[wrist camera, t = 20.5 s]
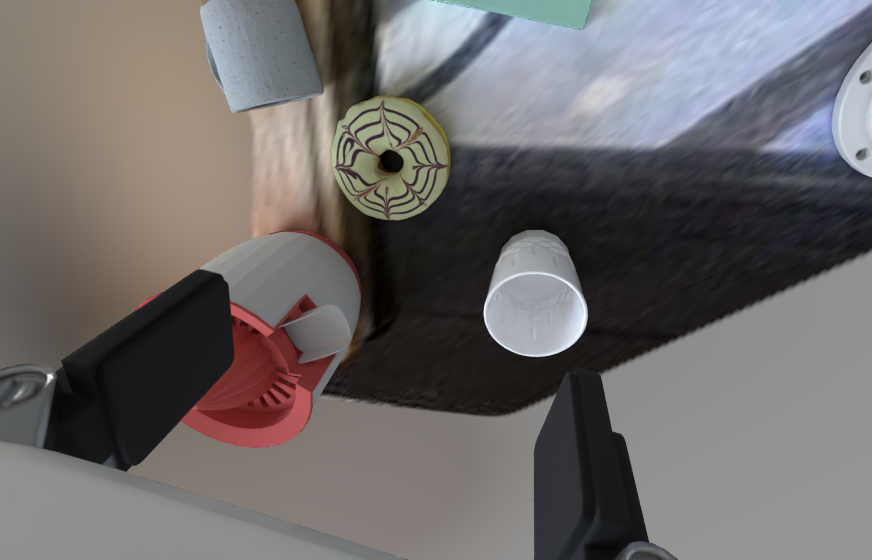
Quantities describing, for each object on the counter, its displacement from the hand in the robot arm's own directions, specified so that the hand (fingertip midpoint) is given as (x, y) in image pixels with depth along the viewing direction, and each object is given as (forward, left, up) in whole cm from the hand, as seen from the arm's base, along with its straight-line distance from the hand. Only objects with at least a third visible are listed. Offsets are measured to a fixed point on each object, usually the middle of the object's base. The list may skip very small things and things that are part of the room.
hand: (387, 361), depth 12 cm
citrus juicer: (+15, +18, -31) cm, 38 cm away
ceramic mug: (+20, -3, -31) cm, 37 cm away
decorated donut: (+8, +3, -31) cm, 32 cm away
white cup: (-7, +10, -31) cm, 33 cm away
